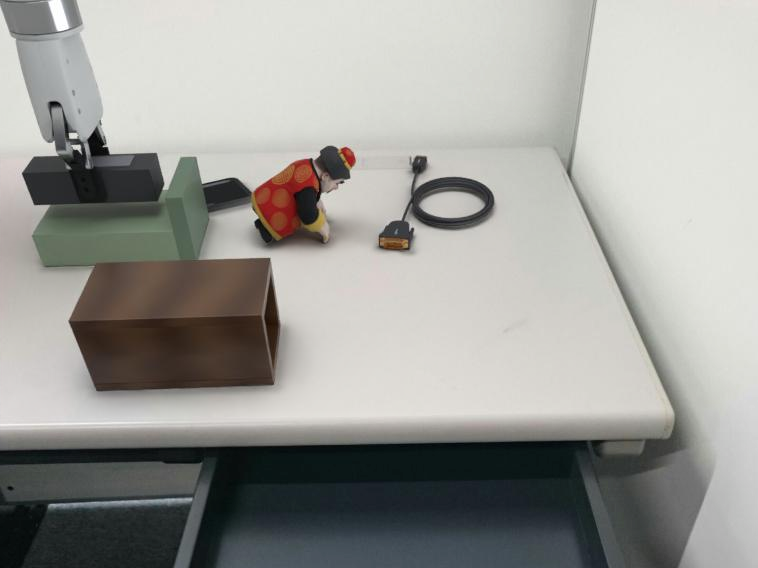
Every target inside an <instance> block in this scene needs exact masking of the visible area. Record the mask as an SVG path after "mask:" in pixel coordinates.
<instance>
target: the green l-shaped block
mask: <svg viewBox="0 0 758 568" xmlns="http://www.w3.org/2000/svg"><path fill="white" fill-rule="evenodd" d="M176 165H177V166H176V168H175V170H174V174H173V175H172V178H171V180H170V183H169V185H168V188H167V189H163V190H162V192H161V195H160V197H159V200H158V202H127V203H95V204H63V205H48V208H47V210H46V211H45V213H44V215H43V216H42V217H41V219H40V221H39V223H38V224H37V226H36V228H35V229H34V230H33V232H32V233H31V238H32V241H33V243H34V245H35V248H36V250H37V253H38V256H39V258H40V261H41V262H42V265H43V267H66V266H68V267H69V266H95V264H96V263H106V262H140V261H174V260H199V255H200V252H201V249H202V245H203V242H204V238H205V234H206V232H207V227H208V224H209V221H210V215H209V213H208V210H207V205H206V200H205V196H204V191H203V186H202V184H203V181H202V177H201V171H200V168H199V163H198V158H197V156H180V157H179V160H178V163H177V164H176Z"/></svg>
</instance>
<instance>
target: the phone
mask: <svg viewBox="0 0 758 568" xmlns="http://www.w3.org/2000/svg"><path fill="white" fill-rule="evenodd" d="M202 186H203V191H204V196H205V200H206V205H207V210H208V214H211V213H214V212H219V211H223V210H226V209H232V208H235V207H239V206H244V205H247V204H252V202H251V193H252V192H253V191H251V190H250V189H249V188H248V186H246V185H245V184H244V183H243V182H242V181H241V180H240V179H239V178H238V177H234V176H233V177H226V178H221V179H218V180H213V181H212V180H211V181H207V182H204V183H202Z"/></svg>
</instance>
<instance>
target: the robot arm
mask: <svg viewBox="0 0 758 568" xmlns="http://www.w3.org/2000/svg"><path fill="white" fill-rule="evenodd" d="M0 9H1V12H2V15H3V18H4V21H5V24H6V27H7V29H8V32H9V35H10V37H11V38H13V39H14V40H15V41H14V42H15V46H16V52H17V56H18V61H19V64H20V65H19V66H20V68H21V73H22V76H23V81H24V83H25V87H26V92H27V93H28V97H29V100H30V104H31V107H32V109H33V113H34V116H35V120H36V122H37V127H38V129H39V132H40V134H41V137H42V139H43V140H44V142H46V143H48V144H52V143H54V147H55V148H54V149H55V152H56V155H57V156H60V157H61V158H62V159H63V160H64V162H65V165H66V168H67V170H69V173H70V176H71V179H72V182H73V185H74V188H75V191H76V193H77V196H78V199H79V201H80V202H81V203H104V202H105V201H106V199H107V198H106V194H105V191H104V188H103V185H102V182H101V178H100V175H99V172H98V169H97V166H93V163H92V159H91V155H101V154H111V152H110V150H109V147H108V146H107V143H108V142H107V137H106V135H105V132H104V130H103V127H102V125H103V123H102V120H101V119H102V118H103V116H104V115H103V114H104V106H103V101H102V97H101V94H100V89H99V87H98V86H99V85H98V83H97V80H96V76H95V74H94V73H95V72H94V70H93V66H92V64H91V61H90V58H89V54H88V52H87V49H86V46H85V43H84V41H83V38H82V35H81V32H83V30H84V29H85V25H84V22H83V18H82V14H81V11H80V8H79V5H78V1H77V0H0ZM70 134H77V136H76V138H74V137H73V138H70ZM73 146H80V150H78V149H74V147H73Z"/></svg>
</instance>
